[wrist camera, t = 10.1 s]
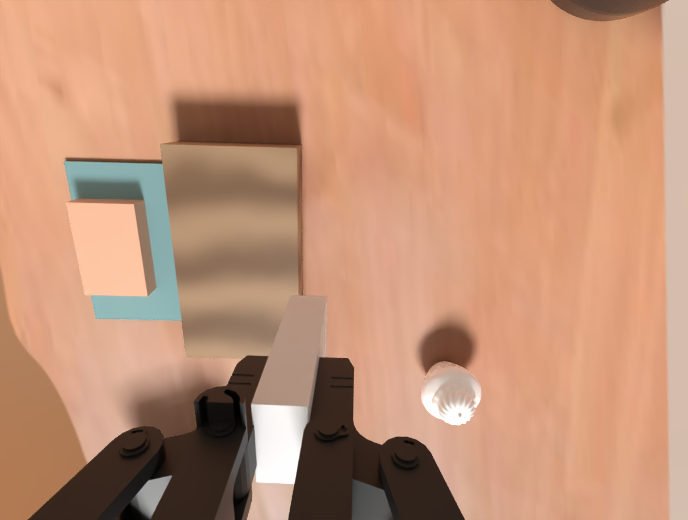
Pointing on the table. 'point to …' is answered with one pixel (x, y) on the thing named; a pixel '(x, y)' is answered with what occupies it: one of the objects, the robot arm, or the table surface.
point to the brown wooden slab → (234, 242)
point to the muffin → (450, 392)
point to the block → (112, 246)
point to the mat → (149, 187)
